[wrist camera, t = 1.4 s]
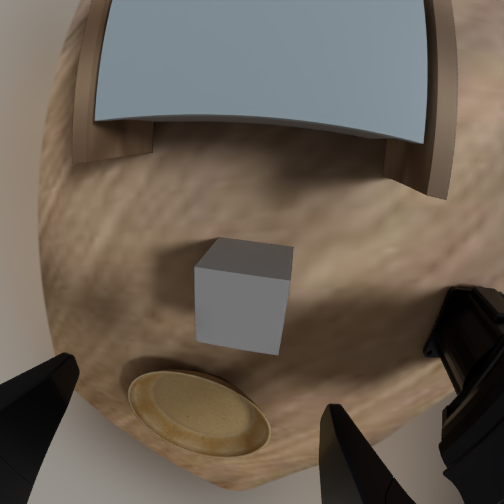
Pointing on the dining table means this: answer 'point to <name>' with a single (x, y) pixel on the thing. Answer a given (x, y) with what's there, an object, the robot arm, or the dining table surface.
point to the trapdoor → (268, 64)
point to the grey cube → (242, 294)
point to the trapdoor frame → (397, 151)
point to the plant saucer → (199, 413)
